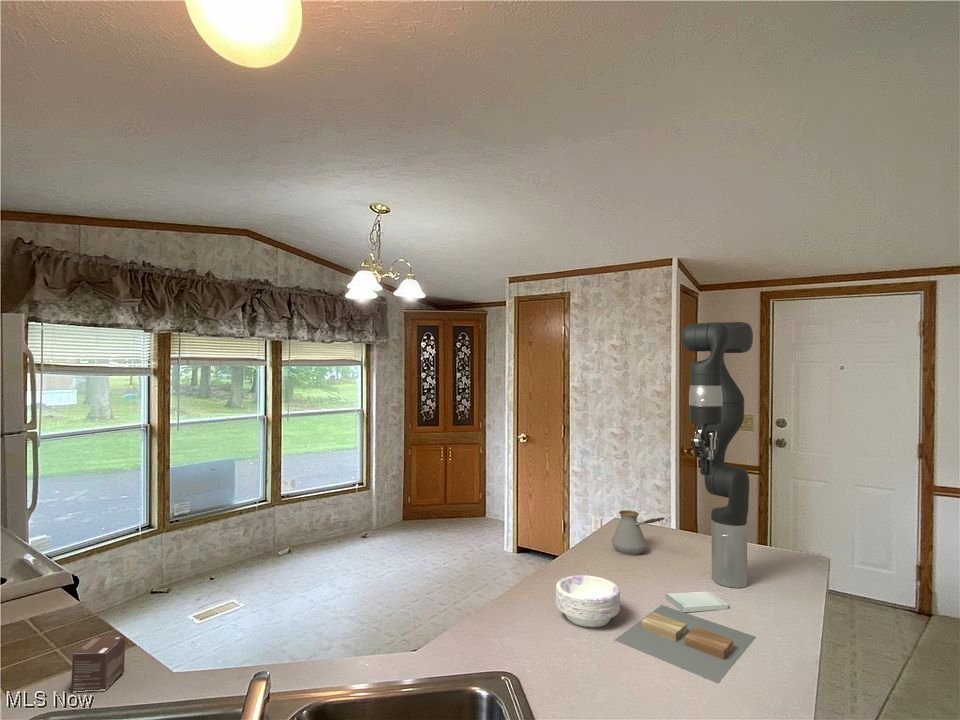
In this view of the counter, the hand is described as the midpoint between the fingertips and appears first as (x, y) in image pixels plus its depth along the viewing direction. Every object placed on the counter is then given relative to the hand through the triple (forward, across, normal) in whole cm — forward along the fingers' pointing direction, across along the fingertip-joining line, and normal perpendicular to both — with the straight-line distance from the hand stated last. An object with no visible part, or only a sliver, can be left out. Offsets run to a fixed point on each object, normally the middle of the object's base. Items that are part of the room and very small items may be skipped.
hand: (706, 474), depth 122 cm
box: (+35, +108, -73) cm, 135 cm away
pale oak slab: (+34, +10, -5) cm, 36 cm away
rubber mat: (+35, +13, 0) cm, 37 cm away
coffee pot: (+35, -29, -32) cm, 56 cm away
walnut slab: (+34, +10, +5) cm, 36 cm away
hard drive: (+35, -6, -5) cm, 36 cm away
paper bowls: (+35, +20, -21) cm, 46 cm away
